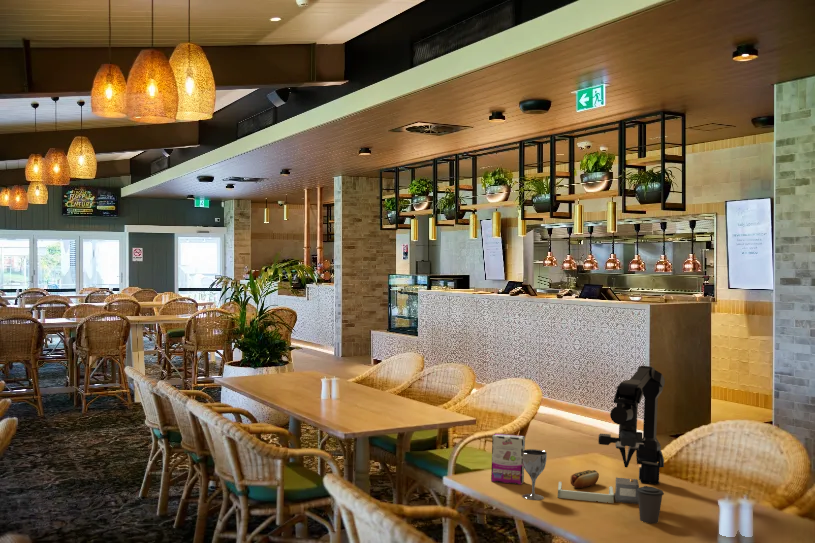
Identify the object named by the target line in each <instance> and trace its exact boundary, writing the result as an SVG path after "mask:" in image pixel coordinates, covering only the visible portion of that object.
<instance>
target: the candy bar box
mask: <svg viewBox="0 0 815 543" xmlns="http://www.w3.org/2000/svg"><path fill="white" fill-rule="evenodd" d="M491 439H492V442H491V443H492V444H491V470H490V471H491V476H490V479H491V480H490V481H491V482H494V483H502V484H504V483H505V484H509V485H510V484H511V485H522V484H523V483H524V481H525V469H524V466H523V456H522V455H523V450H526V448H525V447H526V446H525V445H526V436H525V435H517V434H516V435H515V434H504V433H494V434H493V435H492V438H491Z"/></svg>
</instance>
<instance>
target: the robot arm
mask: <svg viewBox="0 0 815 543" xmlns="http://www.w3.org/2000/svg"><path fill="white" fill-rule="evenodd" d="M665 380H666V379H665V377H664V375H663V374H662V373H661V372H660V371H658V370H656V369H655V367H653V366H650V365H648V366H647V365H639V366H638V368H637V370H636V372H635V373H634V374H633V375H632V376H631V378H630V379H627V380H623V381H621V382H620V383H619V384H618V385H617V388H616V392H615V394H614V399H613V403H614V404H616V406H615V407H613V408H612V409H611V410H610V413H609V417H610V419H611V421H613V423H615V424H616V425H618V437H616V436H615V437H614V436H612V435H611V434H610V433H599V434H598V440H597V442H598V443H597V444H598V445H601V446H609V445H611V443H612V444H615V449H618V450H619V452H620V454H621V457H622V461H623V466H624V468H626V469H627V468H629V464H630V463H631V459H632V457H633V456H634V453H635V458H636V464H637V465H640V466H639V467H638V480H640V483H642V484H651V485H660V484H661V483H660V468H665V458H664V455H663V452H662V450H661V449H662V448H661V447H662V446H661V443H660V441H659V440H658V438H657V429H658V428H657V427H658V406H659V405H658V403H659V402H658V401H659V400H658V399H659V397H660V395H662V392H663V391H664V387H665ZM643 397H644V400H643V401H644V405H643V430H642V431H638V430H637V429H638V413H639V412H638V411H639V410H638V409H639V404H641V401H642V398H643ZM626 447H628V450H627V454H626Z"/></svg>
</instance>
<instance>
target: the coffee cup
mask: <svg viewBox="0 0 815 543" xmlns="http://www.w3.org/2000/svg"><path fill="white" fill-rule="evenodd" d="M637 492H638V499H639V504H638V510H639V512H638V514H639V521H641V522H642V521H643V522H642V523H645V522H646V523H645V524H659V519H660V518H659V517H660V513H661V506H662V499H663V496H664V495H665V493H664V491H663V490H661V489H659V488H658V487H654V486H648V485H644V486H641V487H640V486H639V488H638V489H637Z"/></svg>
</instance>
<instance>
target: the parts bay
mask: <svg viewBox="0 0 815 543" xmlns="http://www.w3.org/2000/svg"><path fill="white" fill-rule="evenodd" d="M557 485H558V487H557V498H558V499H567V500H568V499H569V500H579V501H587V502H588V501H589V502H596V501H598V503H607V502H608V503H609V504H614V502H615V496H614V488H613V486H609V487H608V493H601V492H600V493H599V492H589V491H580V490H577V491H576V490H570V489H569V490H567V489H562V485H563V482H562V481H558V484H557ZM608 503H607V504H608Z"/></svg>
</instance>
